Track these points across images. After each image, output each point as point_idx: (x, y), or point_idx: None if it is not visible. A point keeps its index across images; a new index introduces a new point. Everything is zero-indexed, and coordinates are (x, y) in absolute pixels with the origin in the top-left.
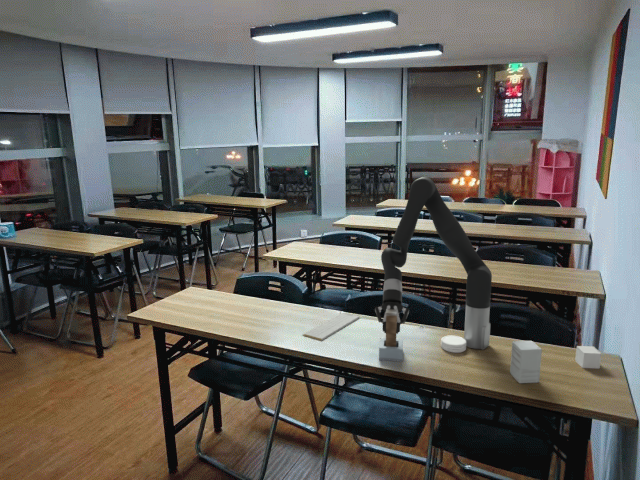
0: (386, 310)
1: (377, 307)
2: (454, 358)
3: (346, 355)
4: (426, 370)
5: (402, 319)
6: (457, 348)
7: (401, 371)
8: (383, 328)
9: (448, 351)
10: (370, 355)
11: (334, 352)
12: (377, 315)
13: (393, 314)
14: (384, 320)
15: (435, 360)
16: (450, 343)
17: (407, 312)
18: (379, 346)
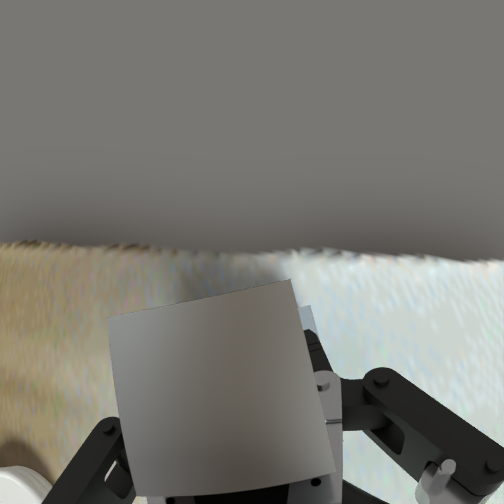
0: (315, 399)
1: (485, 476)
2: (19, 419)
3: (449, 302)
4: (94, 296)
5: (116, 432)
6: (6, 467)
7: (183, 254)
8: (309, 339)
9: (40, 475)
10: (357, 351)
11: (494, 306)
12: (426, 396)
13: (168, 313)
14: (320, 378)
15: (68, 392)
16: (18, 486)
17: (50, 499)
18: (313, 323)
